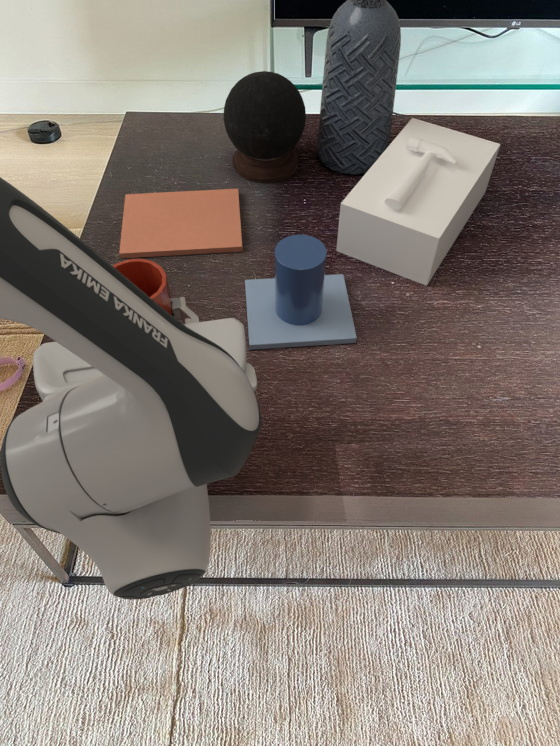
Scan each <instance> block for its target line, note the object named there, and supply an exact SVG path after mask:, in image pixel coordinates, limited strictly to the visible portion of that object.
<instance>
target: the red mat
mask: <svg viewBox="0 0 560 746" xmlns="http://www.w3.org/2000/svg"><path fill="white" fill-rule="evenodd" d="M240 208H241V206H240V195H239V188H222V189H220V188H219V189H205V190H204V189H203V190H200V189H199V190H184V191H183V190H182V191H163V192H145V193H126V194H125V197H124V205H123V215H122V223H121V224H122V225H121V233H120V242H119V252H118V255H119V258H120V259H138V258H153V257H169V256H171V257H172V256H185V255H186V256H188V255H204V254H222V253H224V254H225V253H240V252H241V253H242V252H243V250H244V249H243V235H242V223H241V210H240Z"/></svg>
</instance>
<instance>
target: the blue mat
mask: <svg viewBox="0 0 560 746" xmlns="http://www.w3.org/2000/svg"><path fill="white" fill-rule="evenodd" d="M244 289H245V303H246V304H245V305H246V317H247V329H248V345H249V350H250V351H253V350H254V351H255V350H269V349H284V348H285V349H286V348H296V347H297V348H298V347H315V346H328V345H329V346H331V345H343V344H344V345H345V344H356V343H357V341H358V336H357V333H356V328H355V324H354V318H353V314H352V309H351V305H350V300H349V294H348V290H347V285H346V280H345V275H344V273H338V274H325V281H324V293H323V306H322V313H321V315H320V316H319V318H318V319H316V320H315V321H314V322H312V323H309V324H306V325H292V324H289V323H286V322H284V321H283V320H281V319H280V318H279V317H278V315H277V314H276V311H275V277H273V278H270V277H269V278H254V279H244Z"/></svg>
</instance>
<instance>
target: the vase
mask: <svg viewBox="0 0 560 746" xmlns="http://www.w3.org/2000/svg"><path fill="white" fill-rule="evenodd" d="M328 26H329V27H328V31H327V36H326V43H325V55H324V65H323V75H322V88H321V96H320V98H321V99H320V108H319V119H318V129H317V130H318V131H317V140H316V141H317V142H316V145H317V146H316V152H317V157H318V159H319V161H320V162H321V163H322V165H324V166H325V167H326V168H328V169H330V170H332V171H334V172H337V173H340V174H345V175H363V174H364V175H365V174H366V173H367V171H368V170H369V169H370V168H371V167H372V165H373V164H374V163H375V162H376V161H377V159H378V158H379V157H380V156H381V155H382V153H383V152H384V151H385V150H386V149H387V147H388V146H389V145H390V144H391V143H390V142H391V133H392V124H393V116H394V107H395V97H396V92H397V91H396V89H397V81H398V72H399V64H400V55H401V48H402V47H401V44H402V28H401V23H400V18H399V16H398V14H397V12H396V10H395V9H394V7H393V6H392V5H391V4H390V3H389V1H387V0H345V2H343V3H342V4H341V5H340V6H339V7H338V8H337V10H336V11H335V13H334V14H333V15H332V18H331V21H330V23H329V25H328Z"/></svg>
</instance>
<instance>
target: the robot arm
mask: <svg viewBox="0 0 560 746" xmlns="http://www.w3.org/2000/svg"><path fill="white" fill-rule="evenodd" d="M171 302H172V304H171V306H172V312H173V316H172V315H171V314H169V313H168V312H167V311H166V310H164V309H163V308H162V307H161V306H160V305H158V304H157V303H156V302H155V301H154V300H152V299H151V298H150V297H149V296H148V295H147V294H145V293H144V292H143V291H142V290H141V289H139V288H138V287H137V286H136V285H135V284H133V283H132V282H131V281H130V280H129V279H128V278H126V277H125V276H124V275H123V274H122V273H120V272H119V271H118V270H117V269H116V268H114V267H113V265H112V264H111V263H110V262H109V261H107V260H106V259H105V258H104V257H103V256H102V255H100V254H99V253H98V252H97V251H96V250H94V249H93V248H92V247H91V246H89V244H87V243H86V242H85V241H83V240H82V239H81V238H80V237H79V236H78V235H76V234H75V233H74V232H73V231H72V230H70V229H69V228H68V227H66V225H64V224H63V223H62V222H61V221H60V220H58V219H57V218H55V216H53V215H52V214H51V213H49V212H48V211H47V210H46V209H44V208H43V207H42V206H41V205H39V204H38V203H37V202H35V201H34V200H33V199H31V198H30V197H29V196H28V195H26V194H24V192H22V191H21V190H19V189H18V188H16V187H15V186H14V185H12V184H11V183H10V182H8V181H7V180H6V179H3V178H2V177H1V176H0V319H1V320H7V321H11V322H14V323H18V324H20V325H21V324H22V325H25V326H27V327H30V328H32V329H34V330H37V331H39V332H40V333H42V334H43V335H45V336H47V337H49V338H50V339H52V340H53V341H51V342H44V343H42V344H40V345H39V347H37V349H36V350H35V351H34V352H33V356H32V365H33V366H32V371H33V380H34V385H35V389H36V391H37V394H38V395H39V397H40V400H41V402H39V403H38V404H35V405H33V406H31V407H30V408H28V409H26V410H25V411H22V412H21V413H18V414H16V416H14V418H12V420H11V421H10V423H9V424H8V426H7V428H6V431H5V433H4V436H3V439H2V441H1V442H2V443H1V449H0V472H1V478H2V483H3V487H4V490H5V493H6V496H7V498H8V500H9V501H10V503H11V505H12V506H13V508H14V509H15V510H16V511H17V512H18V513H19V514H20V515H21V516H22V517H23V518H25V519H26V520H27V521H29V522H30V523H32V524H34V525H35V526H37V527H39V528H42V529H44V530H46V531H50V532H53V533H57V534H60V535H62V536H64V537H65V538H66V539H67V540H69V541H70V542H72V543H73V544H74V545H75V546H76V547H78V548H79V549H80V550H81V551H82V552H84V553H85V555H87V556H88V557H89V558H90V559H91V560H92V562H94V564H95V565H96V567H97V569H98V570H99V573H100V575H101V577H102V580H103V582H104V586H105V587H106V589H107V591H108V593H110V594H111V595H112V596H114V597H116V598H119V599H120V598H121V599H123V600H129V601H130V600H132V601H133V600H144V599H150V598H153V597H158V596H163V595H167V594H170V593H173V592H176V591H179V590H181V589H184V588H187V587H189V586H191V585H193V584H195V583H196V582H197V581H198V580H200V579H201V578H202V577H203V576H204V575H205V574H206V573H207V571H208V568H209V565H210V564H209V563H210V558H211V541H212V540H211V538H212V537H211V534H212V533H211V532H212V531H211V514H210V513H211V511H210V500H209V492H208V485H209V484H211V483H215V482H218V481H222V480H225V479H228V478H232V477H235V476H237V475H238V474H239V473H240V472H241V469H242V468H243V467H244V465H245V463H246V462H247V461H248V458H249V457H250V455H251V452H252V451H253V449H254V447H255V444H256V442H257V440H258V437H259V434H260V430H261V427H262V413H261V406H260V404H259V400H258V397H257V394H256V392H257V390H258V387H259V381H258V376H257V371H256V369H255V368H254V366H253V365H252V364H251V363H249V362H248V356H247V352H248V351H247V341H246V340H247V339H246V331H245V326H244V324H243V323H242V322H241V321H240V320H239V319H237V318H235V317H228V318H220V319H213V320H206V321H205V320H204V321H200V319H199V318H200V317H199V315H197V314H196V313H195V312H194V311H192V309H190V308H189V307H188V306H187V301H186V297H185V296H180V297H172V298H171ZM181 321H182V322H183V323H184V324H183V323H182V322H181Z"/></svg>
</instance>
